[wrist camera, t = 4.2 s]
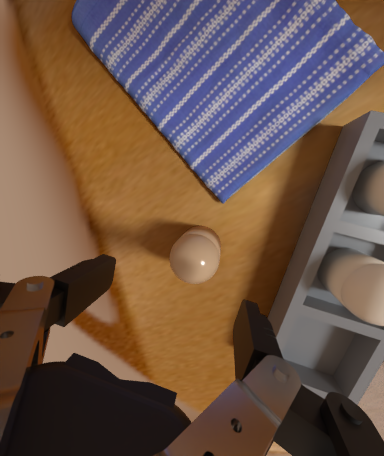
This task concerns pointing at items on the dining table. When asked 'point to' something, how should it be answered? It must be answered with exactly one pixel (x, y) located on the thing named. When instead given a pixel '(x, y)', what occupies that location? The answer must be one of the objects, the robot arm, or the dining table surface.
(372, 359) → the egg carton
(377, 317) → the cream egg middle
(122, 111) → the dining table surface
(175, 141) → the dish towel
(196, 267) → the tan egg
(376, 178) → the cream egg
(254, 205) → the dining table surface
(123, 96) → the dining table surface
